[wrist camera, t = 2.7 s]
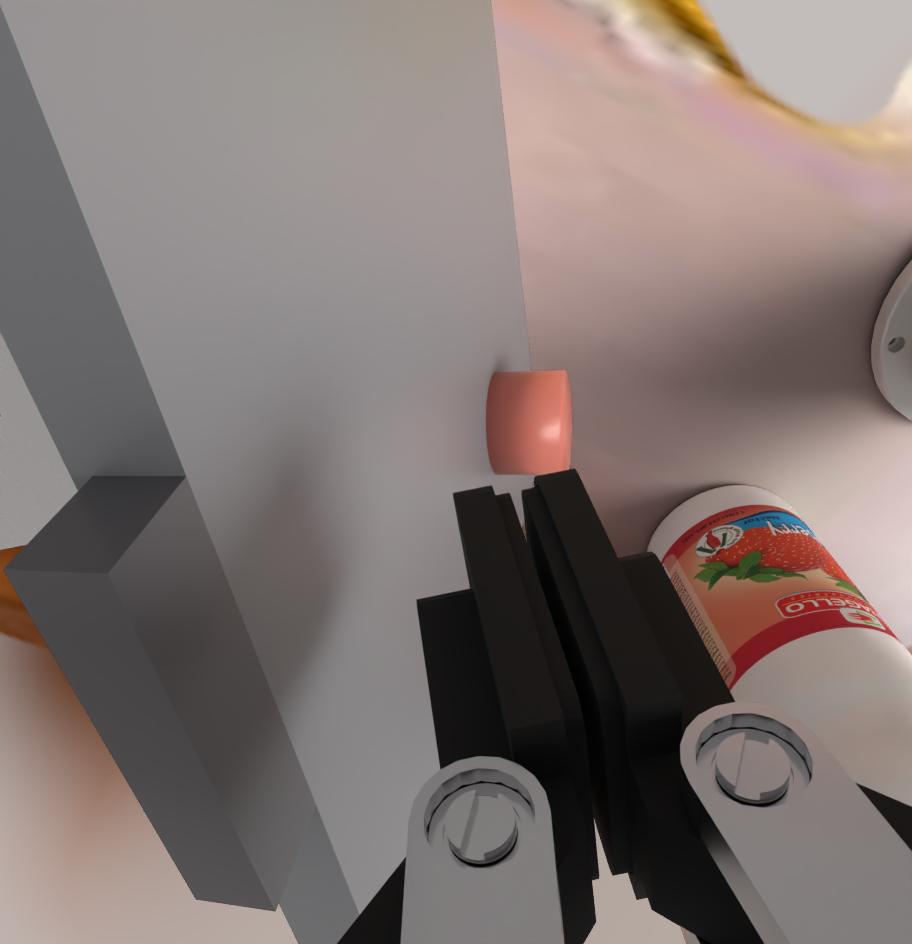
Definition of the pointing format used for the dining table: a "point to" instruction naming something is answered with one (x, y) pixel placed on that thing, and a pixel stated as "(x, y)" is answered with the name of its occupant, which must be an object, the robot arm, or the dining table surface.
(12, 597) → the dining table surface
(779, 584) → the fruit juice
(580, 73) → the dining table surface
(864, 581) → the dining table surface
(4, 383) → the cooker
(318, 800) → the lid
